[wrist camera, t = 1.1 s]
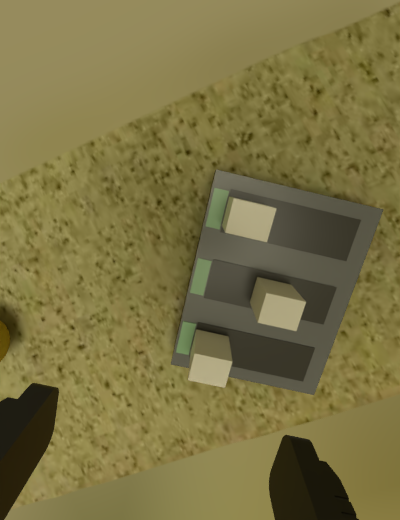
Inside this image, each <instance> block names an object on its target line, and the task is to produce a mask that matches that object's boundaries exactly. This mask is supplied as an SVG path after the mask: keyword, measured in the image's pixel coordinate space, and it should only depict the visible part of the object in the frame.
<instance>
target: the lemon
mask: <svg viewBox="0 0 400 520" xmlns="http://www.w3.org/2000/svg"><path fill="white" fill-rule="evenodd" d="M9 345H10V335H9V331H8V329H7V327H6V326H5V324H4V323H3V322H1V321H0V362H1V360H2V359H3V358H4V357H5V355H6V353H7V351H8V348H9Z"/></svg>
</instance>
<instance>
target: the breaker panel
mask: <svg viewBox="0 0 400 520" xmlns="http://www.w3.org/2000/svg"><path fill="white" fill-rule="evenodd" d="M229 196H230V197H234V198H238V199H242V200H246V201H251V202H255V203H259V204H263V205H267V206H270V207H274V208H277V209H276V213H275V216H274V219H273V223H272V226H271V230H270V233H269V237H268V240H267V242H263V241H259V240H254V239H250V238H246V237H242V236H237V235H233V234H229V233H225V231H224V229H223V227H222V224H223V219H224V215H225V211H226V207H227V203H228V199H229ZM382 212H383V209H379V208H375V207H371V206H367V205H362V204H358V203H354V202H350V201H346V200H342V199H337V198H333V197H329V196H325V195H321V194H316V193H312V192H308V191H304V190H300V189H296V188H291V187H287V186H283V185H279V184H275V183H270V182H266V181H262V180H258V179H254V178H250V177H245V176H241V175H237V174H233V173H229V172H225V171H220V170H216V171H215V174H214V178H213V183H212V187H211V191H210V196H209V200H208V204H207V209H206V213H205V217H204V221H203V226H202V230H201V234H200V239H199V243H198V247H197V252H196V256H195V260H194V264H193V269H192V273H191V277H190V282H189V286H188V290H187V295H186V299H185V303H184V308H183V312H182V316H181V320H180V325H179V329H178V333H177V338H176V342H175V346H174V351H173V356H172V361H171V364H172V365H177V366H181V367H186V368H189V363H190V352H191V348H192V344H193V340H194V336H195V332H196V329H197V330H202V331H206V332H211V333H215V334H220V335H224V336H229V342H230V349H231V355H232V365H231V368H230V372H229V375H228V377H233V378H237V379H242V380H247V381H251V382H256V383H261V384H265V385H270V386H275V387H279V388H284V389H289V390H293V391H298V392H303V393H307V394H312V395H314V394H315V391H316V388H317V386H318V383H319V380H320V378H321V375H322V372H323V370H324V367H325V364H326V362H327V359H328V356H329V354H330V351H331V348H332V346H333V343H334V340H335V338H336V335H337V332H338V329H339V327H340V324H341V321H342V319H343V316H344V313H345V311H346V308H347V305H348V303H349V300H350V297H351V295H352V292H353V289H354V287H355V284H356V281H357V279H358V276H359V273H360V271H361V268H362V265H363V263H364V260H365V257H366V255H367V252H368V249H369V247H370V244H371V241H372V239H373V236H374V233H375V231H376V228H377V225H378V223H379V220H380V217H381V215H382ZM257 277H260V278H264V279H269V280H273V281H277V282H282V283H286V284H291V285H292V286H293V287H294V289H295V290H296V291H297V292H298V293H299V294H300V295H301V297H302V298H303V299H304V300H305V301H306V304H305V307H304V310H303V313H302V316H301V319H300V322H299V325H298V328H297V331H293V330H288V329H284V328H279V327H275V326H270V325H266V324H261V323H258V322H257V320H256V317H255V315H254V312H253V309H252V307H251V304H250V300H251V297H252V293H253V290H254V286H255V283H256V280H257Z"/></svg>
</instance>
